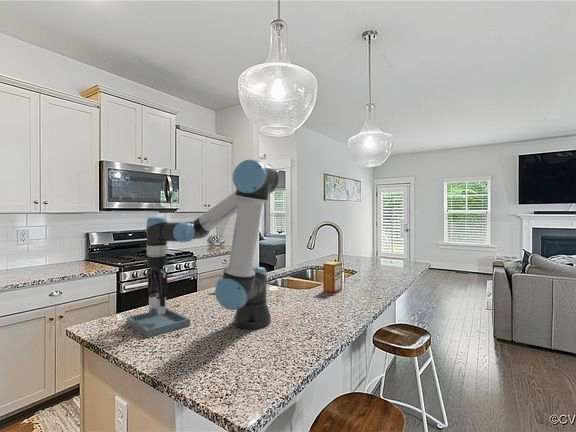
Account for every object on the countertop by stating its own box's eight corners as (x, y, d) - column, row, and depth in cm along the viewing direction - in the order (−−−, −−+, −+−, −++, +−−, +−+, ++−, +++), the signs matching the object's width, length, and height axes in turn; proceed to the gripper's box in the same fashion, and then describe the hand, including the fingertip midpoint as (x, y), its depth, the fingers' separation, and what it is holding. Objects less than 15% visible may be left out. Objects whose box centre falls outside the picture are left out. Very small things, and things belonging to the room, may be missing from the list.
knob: (168, 312, 131) (168, 295, 131) (153, 316, 127) (152, 298, 127) (162, 309, 136) (161, 292, 136) (146, 312, 131) (146, 295, 131)
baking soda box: (332, 287, 189) (332, 260, 189) (342, 289, 185) (341, 261, 185) (323, 291, 182) (323, 263, 181) (333, 293, 178) (333, 264, 177)
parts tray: (190, 325, 130) (190, 319, 130) (147, 337, 118) (147, 330, 118) (166, 313, 145) (166, 307, 145) (126, 323, 133) (126, 317, 133)
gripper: (177, 257, 127) (177, 315, 127) (156, 252, 140) (156, 304, 141) (158, 259, 121) (158, 320, 122) (138, 253, 135) (139, 308, 136)
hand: (157, 311), depth 131 cm, fingers closed on knob, 6 cm apart
